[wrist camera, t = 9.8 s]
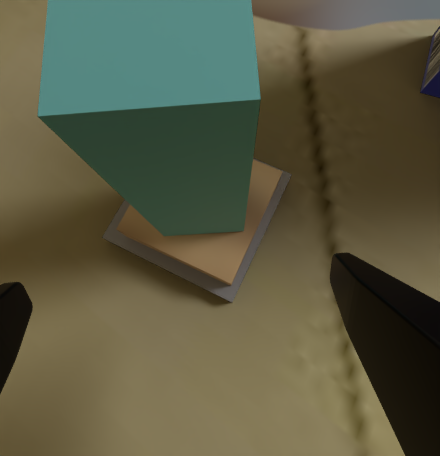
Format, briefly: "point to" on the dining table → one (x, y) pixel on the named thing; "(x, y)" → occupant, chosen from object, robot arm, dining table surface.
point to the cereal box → (433, 68)
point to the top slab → (212, 242)
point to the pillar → (158, 103)
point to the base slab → (187, 271)
